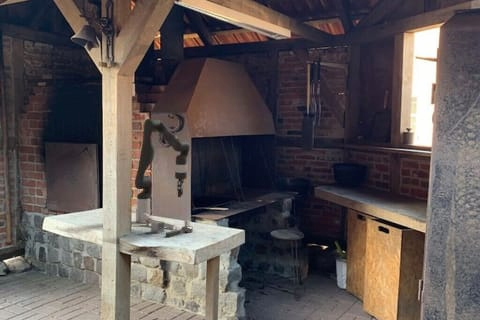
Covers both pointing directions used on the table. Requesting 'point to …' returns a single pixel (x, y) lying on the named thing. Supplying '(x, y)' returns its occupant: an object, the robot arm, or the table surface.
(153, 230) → the socket
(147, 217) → the wrench
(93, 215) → the table surface
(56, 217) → the table surface
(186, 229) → the ratchet
